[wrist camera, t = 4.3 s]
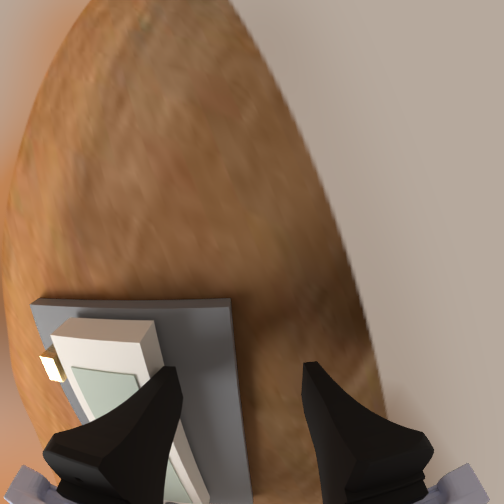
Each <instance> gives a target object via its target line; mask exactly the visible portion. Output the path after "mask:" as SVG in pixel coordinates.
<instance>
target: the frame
mask: <svg viewBox="0 0 504 504" xmlns="http://www.w3.org/2000/svg"><path fill="white" fill-rule="evenodd" d="M50 336H51V339H52V341H53V344H54V347H55V349H56V352H57V355H58V357H59V359H60V362H61V364H62V367H63V369H64V371H65V374H66V376H67V378H68V380H69V382H70V385H71V387H72V389H73V391H74V393H75V395H76V397H77V399H78V401H79V403H80V405H81V407H82V409H83V410H84V412H85V414H86V416H87V418H88V420H89V421H90V422H91V421H93V420H95V419H97V418H99V417H101V416H103V415H105V414H107V413H108V412H110V411H111V410H113V409H115V408H116V407H118V406H119V405H120V404H122V403H123V402H125V401H126V400H127V399H128V398H129V397H131V396H132V395H133V394H134V393H135V392H137V391H138V390H139V389H140V388H141V387H142V386H143V385H144V384H145V383H146V382H147V381H148V380H149V379H150V378H151V377H152V376H154V375H155V374H156V373H157V372H158V371H159V370H160V369H161V368H162V367H163V366H164V362H163V358H162V354H161V350H160V346H159V341H158V337H157V333H156V328H155V324H154V320H114V319H91V318H75V317H70V318H69V319H67V320H66V321H65V322H64V323H63V324H62V325H61V326H59V327H58V328H57V329H56V330H55V331H54V332H53V333H52V334H51V335H50ZM209 502H210V495H209V493H208V491H207V489H206V486H205V484H204V482H203V479H202V477H201V474H200V472H199V470H198V467H197V464H196V462H195V459H194V457H193V454H192V451H191V449H190V446H189V443H188V440H187V438H186V435H185V432H184V429H183V426H182V423H181V420H179V423H178V426H177V430H176V433H175V436H174V440H173V443H172V446H171V450H170V454H169V458H168V465H167V471H166V479H165V488H164V501H163V504H209Z"/></svg>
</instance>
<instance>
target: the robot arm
mask: <svg viewBox="0 0 504 504" xmlns="http://www.w3.org/2000/svg"><path fill="white" fill-rule="evenodd" d="M301 395H302V402H303V408H304V414H305V417H306V421H307V424H308V427H309V431H310V434H311V437H312V441H313V444H314V448H315V452H316V456H317V462H318V468H319V475H320V482H321V490H322V499H323V504H487V503H488V502H489V500H490V499H489V497H488V495H487V493H486V492H485V490H484V488H483V486H482V485H481V483H480V481H479V480H478V478H477V476H476V474H475V473H474V471H473V469H472V468H471V467H470V465H469V463H466V464H465V465H463V466H461V467H459V468H457V469H455V470H453V471H451V472H449V473H447V474H446V475H445V476H443V477H442V478H441V479H440V480H439V482H438V483H437V485H434V486H432V487H430V488H428V489H427V488H426V486H425V484H424V481H423V480H424V479H425V475H424V473H423V469H424V468H425V466H426V465H427V464H428V462H429V461H430V459H431V458H432V455H433V453H434V449H433V447H432V445H431V443H430V442H429V440H428V438H427V437H426V436H425V434H424V433H423V432H420V431H417V430H413V429H409V428H406V427H403V426H400V425H398V424H396V423H393V422H391V421H389V420H387V419H384V418H383V417H381V416H379V415H377V414H375V413H373V412H372V411H370V410H368V409H367V408H365V407H364V406H362V405H361V404H360V403H358V402H357V401H356V400H354V399H353V398H352V397H351V396H350V395H349V394H347V393H346V392H345V391H344V390H343V389H342V388H341V387H340V386H339V385H338V384H337V383H336V382H335V381H334V380H333V379H332V378H331V377H330V376H329V375H328V374H327V372H326V371H325V370H324V369H323V368H322V367H321V365H320V364H319V363H318V362H317V361H315V362H306V363H303V378H302V393H301ZM182 404H183V394H182V390H181V386H180V383H179V379H178V375H177V370H176V367H175V366H163V367H162V368H161V369H160V370H159V371H158V372H157V373H156V374H155V375H154V376H152V377H151V378H150V379H149V380H148V381H147V382H146V383H145V384H144V385H143V386H142V387H141V388H140V389H139V390H138V391H137V392H135V393H134V394H133V395H132V396H131V397H129V398H128V399H127V400H126V401H125V402H123V403H122V404H120V405H119V406H118V407H116V408H115V409H113V410H111V411H110V412H108V413H107V414H105V415H103V416H101V417H99V418H97V419H95V420H93V421H91V422H89V423H87V424H84V425H82V426H79V427H76V428H73V429H70V430H66V431H63V432H59V433H55V434H54V435H53V436H52V438H51V439H50V441H49V443H48V444H47V446H46V447H45V449H44V451H43V457H44V459H45V461H46V462H47V463H48V465H49V466H50V467H51V468H52V469H53V470H54V471H55V473H56V474H57V475H58V476H59V477H60V478H61V481H60V483H59V485H58V487H56V486H54V485H52V484H50V482H49V481H48V480H47V479H46V478H45V477H44V476H43V475H41V474H40V473H38V472H37V471H34V470H33V469H31V468H29V467H27V466H25V465H22V466H21V468H20V470H19V471H18V473H17V475H16V477H15V478H14V480H13V482H12V483H11V485H10V487H9V489H8V490H7V492H6V494H5V496H4V499H5V500H6V501H8V502H9V503H10V504H163V501H164V488H165V479H166V471H167V465H168V458H169V454H170V450H171V446H172V443H173V440H174V436H175V433H176V430H177V426H178V423H179V420H180V416H181V411H182Z"/></svg>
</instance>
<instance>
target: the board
mask: <svg viewBox="0 0 504 504" xmlns="http://www.w3.org/2000/svg"><path fill="white" fill-rule="evenodd" d="M30 307H31V310H32V313H33V317H34V320H35V323H36V326H37V329H38V331H39V334H40V337H41V340H42V342H43V345H44V348H45V350H46V351H45V352H44V353H43V354H42V355H41V356H40V358H41V360H42V362H43V365H44V367H45V369H46V371H47V374H48V376H49V378H50V380H54V381H58V382H60V384H61V386H62V388H63V390H64V392H65V394H66V396H67V398H68V400H69V402H70V404H71V406H72V408H73V410H74V411H75V413H76V415H77V417H78V418H79V420H80V422H81V424H82V425H84V424H87V423H89V422H90V421H89V420H88V418H87V416H86V414H85V412H84V410H83V409H82V407H81V405H80V403H79V401H78V399H77V397H76V395H75V393H74V391H73V389H72V387H71V385H70V382H69V380H68V378H67V376H66V374H65V371H64V369H63V367H62V364H61V362H60V359H59V357H58V355H57V352H56V349H55V347H54V344H53V341H52V339H51V336H50V335H51V334H52V333H53V332H54V331H55V330H56V329H57V328H58V327H59V326H61V325H62V324H63V323H64V322H65V321H66V320H67V319H69V318H70V317H75V318H91V319H114V320H154V324H155V328H156V333H157V337H158V341H159V346H160V350H161V354H162V358H163V362H164V366H175V367H176V370H177V375H178V379H179V383H180V386H181V390H182V394H183V404H182V411H181V416H180V420H181V423H182V426H183V429H184V432H185V435H186V438H187V440H188V443H189V446H190V449H191V451H192V454H193V457H194V459H195V462H196V464H197V467H198V470H199V472H200V474H201V477H202V479H203V482H204V484H205V486H206V489H207V491H208V493H209V495H210V502H209V504H253V493H252V486H251V479H250V471H249V464H248V456H247V448H246V440H245V432H244V424H243V416H242V407H241V398H240V389H239V380H238V371H237V361H236V351H235V341H234V331H233V320H232V309H231V298H220V299H189V300H74V299H46V298H38V299H37V300H35V301H34V302H33V303H31V304H30Z"/></svg>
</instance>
